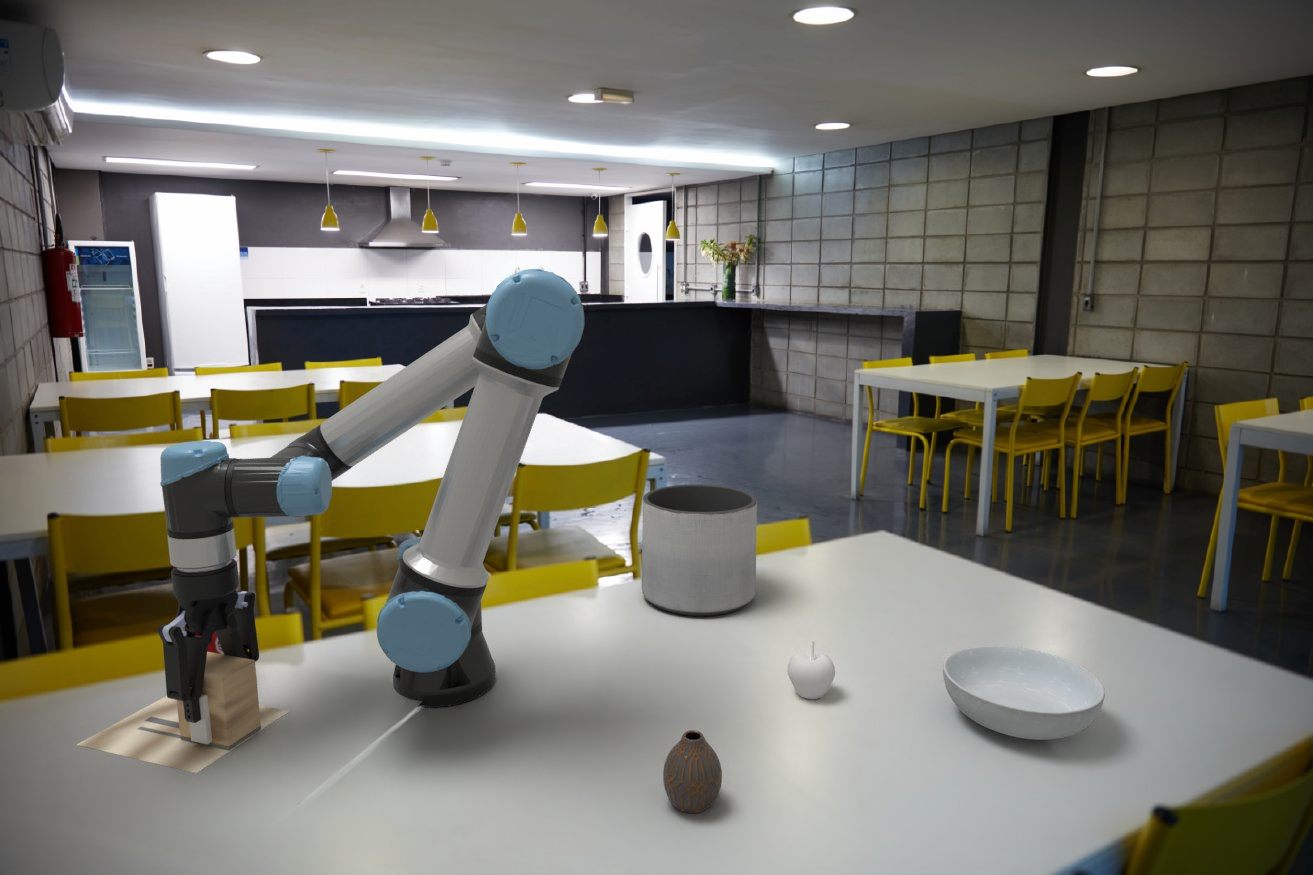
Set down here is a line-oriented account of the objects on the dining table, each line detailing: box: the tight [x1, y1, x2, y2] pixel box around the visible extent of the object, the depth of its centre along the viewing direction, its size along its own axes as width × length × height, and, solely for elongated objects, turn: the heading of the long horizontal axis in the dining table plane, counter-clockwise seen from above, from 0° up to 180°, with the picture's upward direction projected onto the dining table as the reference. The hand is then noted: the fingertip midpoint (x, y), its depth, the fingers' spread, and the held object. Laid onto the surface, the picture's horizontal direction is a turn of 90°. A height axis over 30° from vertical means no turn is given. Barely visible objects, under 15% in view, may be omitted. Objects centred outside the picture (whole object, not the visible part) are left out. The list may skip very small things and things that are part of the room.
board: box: [75, 695, 291, 774], centre depth 115 cm, size 20×16×1 cm
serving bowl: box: [942, 645, 1106, 741], centre depth 120 cm, size 21×21×7 cm
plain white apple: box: [786, 640, 836, 700], centre depth 127 cm, size 7×7×8 cm
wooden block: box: [177, 652, 262, 751], centre depth 112 cm, size 8×6×10 cm
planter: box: [641, 483, 758, 617], centre depth 164 cm, size 22×22×20 cm
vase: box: [662, 729, 723, 814], centre depth 100 cm, size 7×7×9 cm
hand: (220, 728), depth 113 cm, fingers closed on wooden block, 5 cm apart
